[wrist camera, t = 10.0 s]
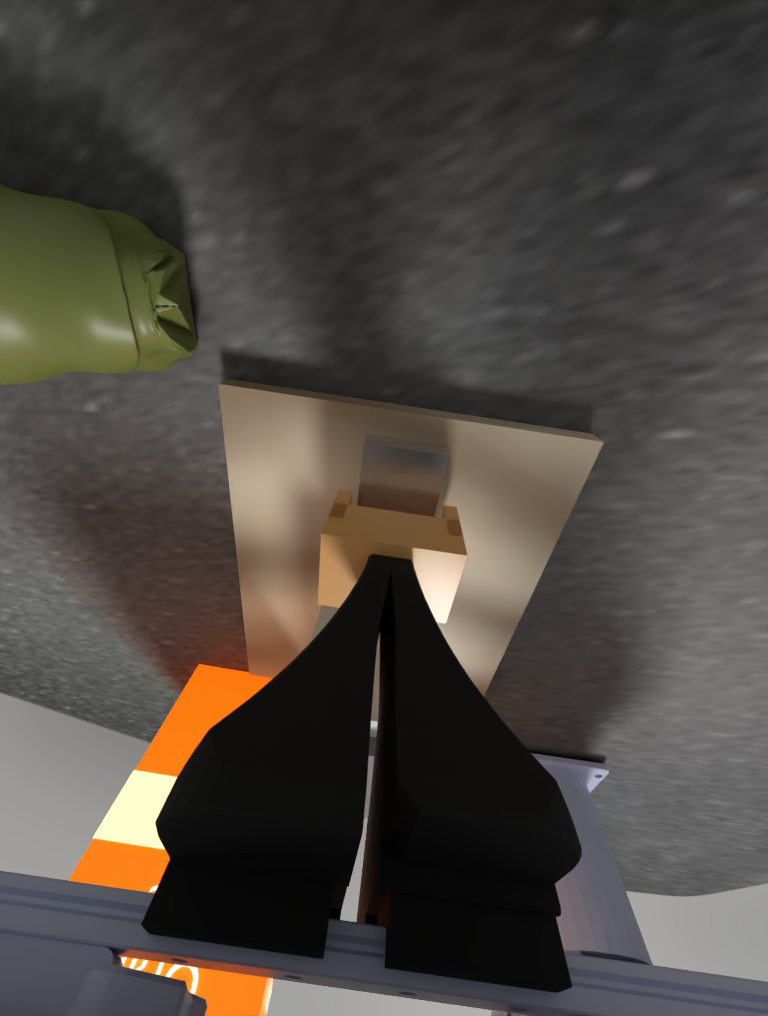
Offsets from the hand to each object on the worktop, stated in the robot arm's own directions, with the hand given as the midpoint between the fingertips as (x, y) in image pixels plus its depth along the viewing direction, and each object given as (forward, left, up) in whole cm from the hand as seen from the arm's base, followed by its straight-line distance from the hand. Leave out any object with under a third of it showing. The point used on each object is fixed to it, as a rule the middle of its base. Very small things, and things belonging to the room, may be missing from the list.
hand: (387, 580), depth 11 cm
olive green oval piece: (+7, +12, -5) cm, 15 cm away
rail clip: (0, 0, -3) cm, 3 cm away
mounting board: (-4, 0, -5) cm, 6 cm away
